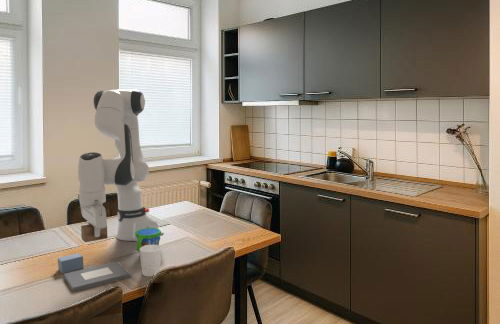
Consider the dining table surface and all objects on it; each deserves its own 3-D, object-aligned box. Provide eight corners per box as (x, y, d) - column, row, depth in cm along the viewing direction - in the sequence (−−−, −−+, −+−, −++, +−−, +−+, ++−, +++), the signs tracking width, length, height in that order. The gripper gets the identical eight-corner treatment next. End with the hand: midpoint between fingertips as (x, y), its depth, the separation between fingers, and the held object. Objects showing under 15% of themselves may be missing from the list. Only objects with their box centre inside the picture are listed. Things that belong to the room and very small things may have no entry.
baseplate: (117, 264, 160) (117, 261, 160) (129, 277, 149) (129, 273, 149) (64, 277, 148) (63, 273, 148) (73, 291, 137) (72, 287, 137)
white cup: (163, 268, 157) (162, 244, 155) (159, 277, 149) (158, 251, 148) (143, 268, 157) (142, 244, 155) (138, 277, 149) (137, 252, 147)
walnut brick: (103, 234, 150) (103, 222, 150) (107, 238, 147) (107, 225, 146) (81, 238, 146) (81, 225, 145) (84, 242, 142) (84, 229, 141)
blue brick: (79, 264, 160) (79, 252, 160) (83, 268, 157) (82, 256, 156) (58, 270, 155) (57, 257, 155) (62, 273, 152) (61, 261, 151)
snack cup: (150, 246, 181) (149, 224, 180) (169, 249, 177) (169, 227, 176) (127, 258, 167) (126, 235, 166) (147, 262, 163) (146, 238, 161)
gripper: (110, 202, 138) (112, 240, 140) (93, 191, 154) (95, 225, 156) (91, 205, 134) (93, 244, 136) (76, 193, 150) (78, 228, 152)
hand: (94, 234), depth 146 cm, fingers closed on walnut brick, 4 cm apart
